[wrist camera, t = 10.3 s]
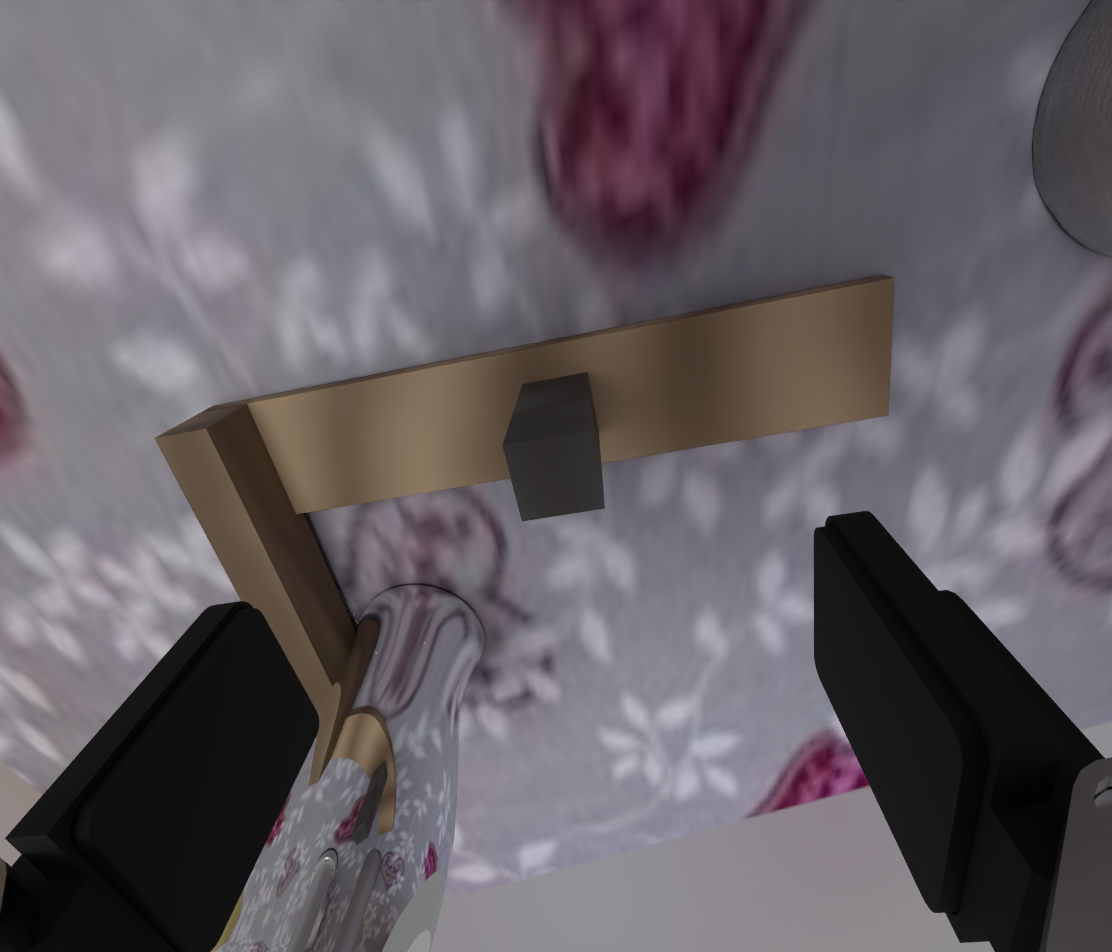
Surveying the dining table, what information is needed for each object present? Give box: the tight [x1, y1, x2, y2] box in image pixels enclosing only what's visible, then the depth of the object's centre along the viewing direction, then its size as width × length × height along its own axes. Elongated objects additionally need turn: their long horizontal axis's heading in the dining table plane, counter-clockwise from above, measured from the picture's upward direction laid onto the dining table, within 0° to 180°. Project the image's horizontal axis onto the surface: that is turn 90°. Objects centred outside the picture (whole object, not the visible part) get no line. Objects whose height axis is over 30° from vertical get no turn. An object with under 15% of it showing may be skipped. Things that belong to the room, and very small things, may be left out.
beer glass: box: [211, 585, 484, 952], centre depth 21 cm, size 7×7×15 cm
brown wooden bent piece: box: [154, 275, 894, 708], centre depth 22 cm, size 26×18×7 cm
